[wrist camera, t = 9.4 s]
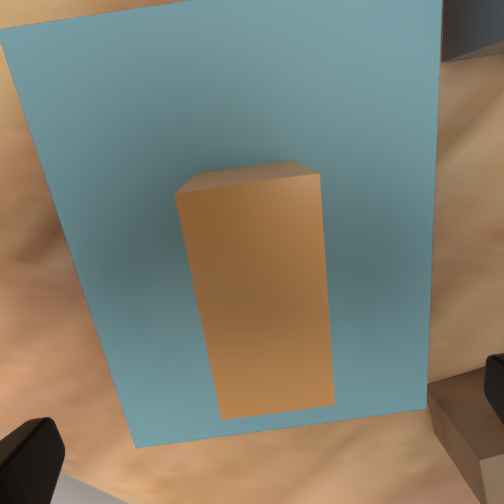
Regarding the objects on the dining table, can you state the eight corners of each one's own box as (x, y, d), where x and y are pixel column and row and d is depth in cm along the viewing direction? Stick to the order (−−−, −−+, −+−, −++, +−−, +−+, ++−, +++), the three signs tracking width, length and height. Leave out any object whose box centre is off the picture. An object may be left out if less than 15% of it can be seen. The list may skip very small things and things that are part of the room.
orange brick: (307, 328, 17) (335, 405, 12) (226, 339, 17) (221, 420, 12) (292, 160, 14) (319, 173, 9) (196, 173, 14) (174, 193, 9)
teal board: (412, 389, 20) (426, 408, 19) (143, 426, 20) (135, 448, 19) (422, -20, 13) (443, -38, 12) (21, 40, 14) (-4, 29, 12)
